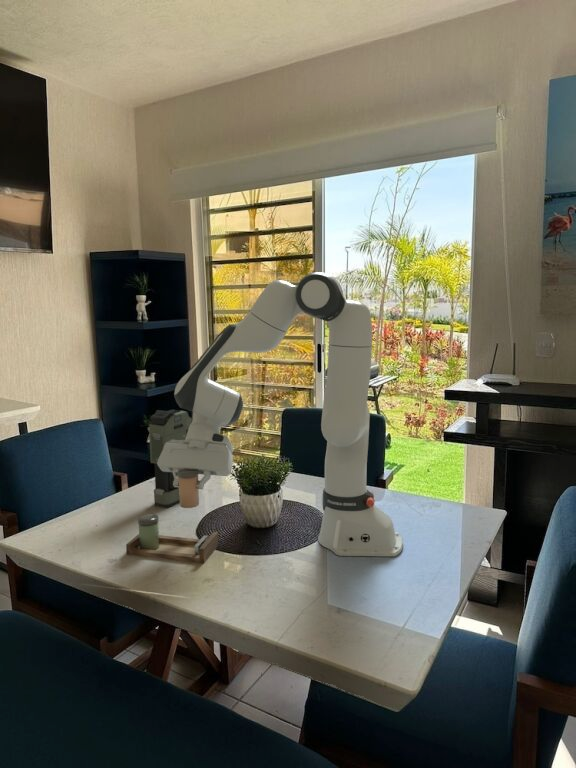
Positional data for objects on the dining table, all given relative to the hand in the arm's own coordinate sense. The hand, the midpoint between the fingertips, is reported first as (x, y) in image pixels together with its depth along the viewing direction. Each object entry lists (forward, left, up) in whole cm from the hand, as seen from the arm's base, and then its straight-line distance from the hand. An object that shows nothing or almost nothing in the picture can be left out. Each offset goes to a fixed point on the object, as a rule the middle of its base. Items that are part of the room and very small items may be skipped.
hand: (187, 487), depth 141 cm
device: (+18, -31, -16) cm, 39 cm away
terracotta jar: (0, -1, -5) cm, 5 cm away
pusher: (-5, +3, -16) cm, 17 cm away
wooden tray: (+3, +3, -16) cm, 17 cm away
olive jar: (+10, +3, -16) cm, 19 cm away
